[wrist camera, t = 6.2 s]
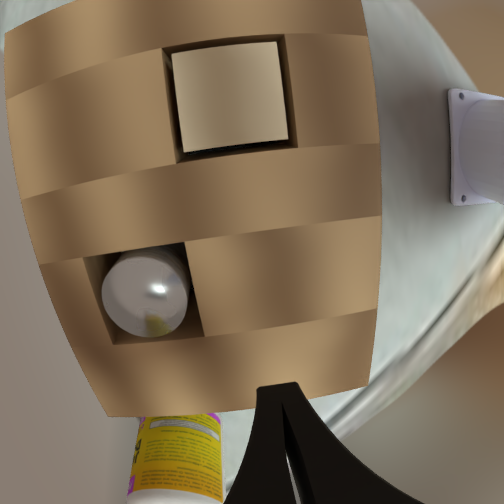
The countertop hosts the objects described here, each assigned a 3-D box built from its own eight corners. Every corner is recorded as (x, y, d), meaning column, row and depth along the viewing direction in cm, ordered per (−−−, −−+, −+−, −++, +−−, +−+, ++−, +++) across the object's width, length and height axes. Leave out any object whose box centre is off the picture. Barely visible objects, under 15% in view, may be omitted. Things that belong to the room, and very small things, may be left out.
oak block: (321, 3, 14) (353, -32, 9) (342, 338, 22) (367, 385, 17) (50, 49, 13) (4, 33, 9) (124, 367, 21) (108, 416, 17)
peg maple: (261, 65, 15) (276, 41, 10) (270, 136, 16) (288, 139, 12) (185, 74, 15) (171, 54, 10) (194, 146, 16) (183, 152, 12)
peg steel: (187, 221, 18) (176, 253, 13) (200, 286, 19) (194, 333, 15) (120, 232, 17) (90, 266, 13) (136, 294, 19) (116, 340, 14)
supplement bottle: (135, 387, 22) (104, 537, 10) (221, 390, 23) (228, 548, 11) (150, 437, 25) (135, 562, 13) (223, 439, 25) (231, 569, 13)
